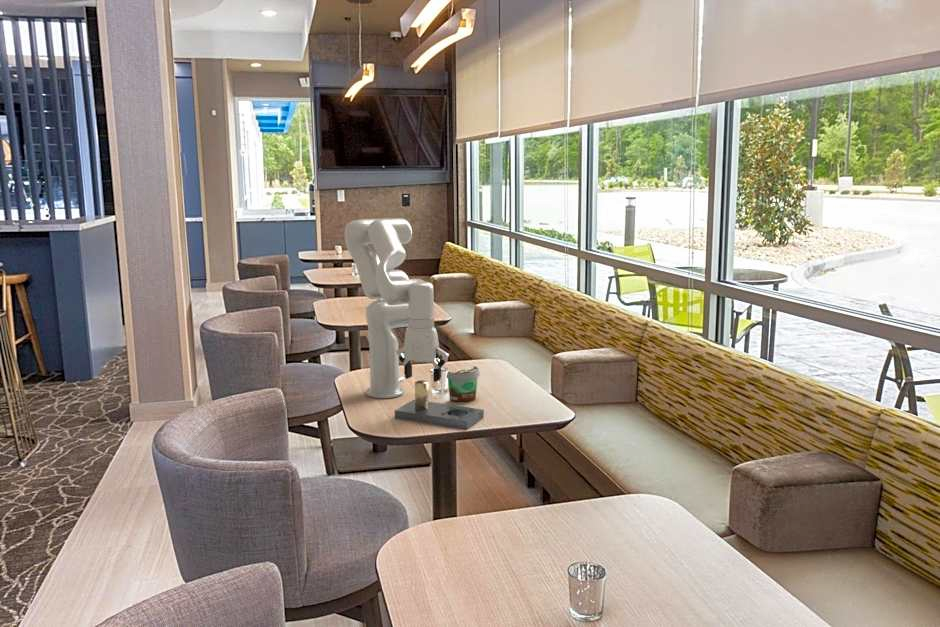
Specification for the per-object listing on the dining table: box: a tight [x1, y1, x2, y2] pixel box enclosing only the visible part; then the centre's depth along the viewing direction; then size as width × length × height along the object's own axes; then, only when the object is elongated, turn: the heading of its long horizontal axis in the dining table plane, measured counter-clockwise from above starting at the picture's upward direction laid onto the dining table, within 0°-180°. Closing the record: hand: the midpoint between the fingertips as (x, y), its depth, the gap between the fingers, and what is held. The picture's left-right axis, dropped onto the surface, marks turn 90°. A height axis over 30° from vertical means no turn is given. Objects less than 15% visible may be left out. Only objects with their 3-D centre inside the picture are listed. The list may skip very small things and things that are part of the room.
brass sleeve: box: [414, 379, 429, 409], centre depth 235 cm, size 4×4×8 cm
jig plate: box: [394, 399, 485, 430], centre depth 233 cm, size 12×24×2 cm, turn 65°
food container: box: [446, 365, 481, 403], centre depth 250 cm, size 12×6×10 cm, turn 131°
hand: (422, 379), depth 233 cm, fingers open, 9 cm apart
